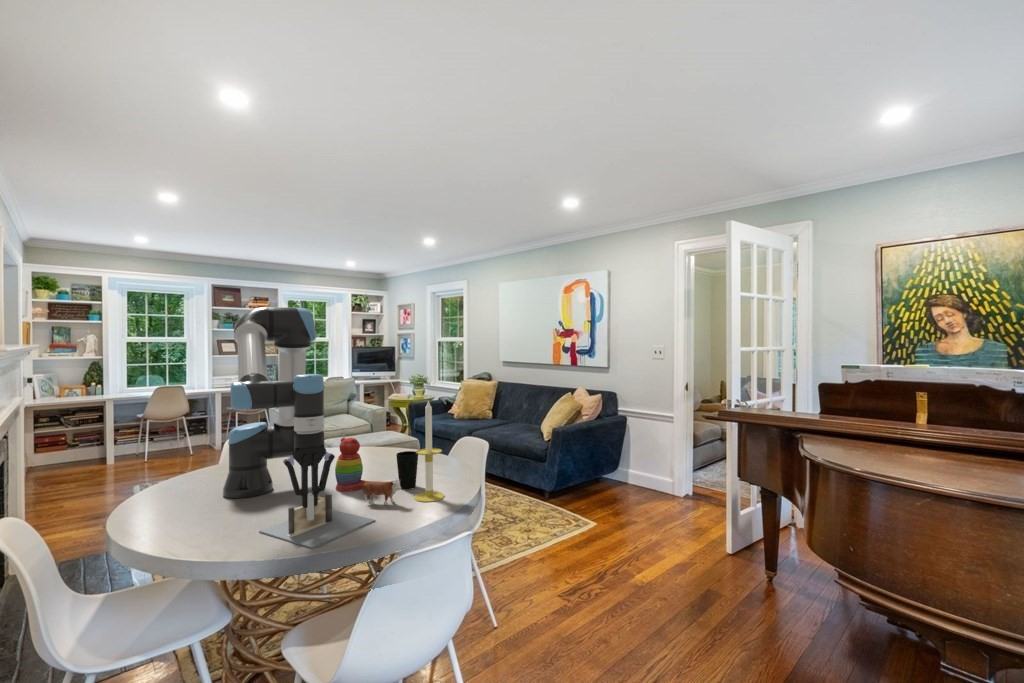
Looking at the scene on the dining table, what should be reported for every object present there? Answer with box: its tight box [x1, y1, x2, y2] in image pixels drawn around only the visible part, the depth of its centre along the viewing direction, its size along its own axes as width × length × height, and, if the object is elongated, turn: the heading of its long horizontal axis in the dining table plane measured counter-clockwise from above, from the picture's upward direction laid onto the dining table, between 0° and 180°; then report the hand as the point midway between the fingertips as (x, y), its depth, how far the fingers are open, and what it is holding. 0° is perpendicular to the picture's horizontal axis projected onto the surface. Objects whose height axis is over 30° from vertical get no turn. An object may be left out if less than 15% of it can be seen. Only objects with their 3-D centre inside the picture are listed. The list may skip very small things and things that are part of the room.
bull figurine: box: [362, 478, 402, 506], centre depth 151 cm, size 4×13×8 cm, turn 78°
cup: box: [396, 450, 419, 490], centre depth 168 cm, size 8×8×12 cm
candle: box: [413, 399, 445, 503], centre depth 157 cm, size 10×10×32 cm
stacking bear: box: [334, 437, 366, 493], centre depth 168 cm, size 11×10×18 cm
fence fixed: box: [308, 490, 333, 522], centre depth 138 cm, size 11×2×7 cm, turn 60°
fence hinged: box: [287, 499, 325, 534], centre depth 129 cm, size 11×1×7 cm, turn 148°
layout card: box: [258, 508, 376, 550], centre depth 132 cm, size 22×21×1 cm
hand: (310, 518), depth 128 cm, fingers closed
